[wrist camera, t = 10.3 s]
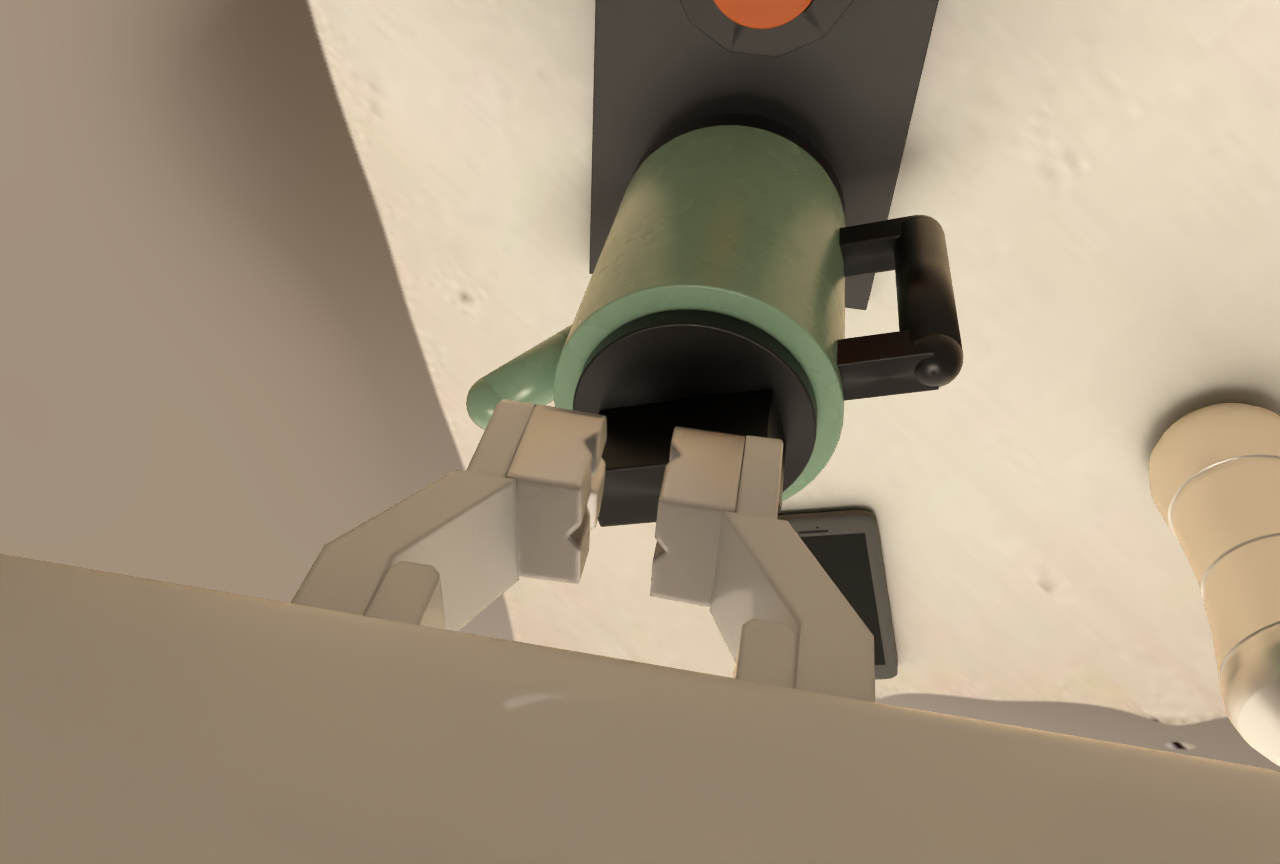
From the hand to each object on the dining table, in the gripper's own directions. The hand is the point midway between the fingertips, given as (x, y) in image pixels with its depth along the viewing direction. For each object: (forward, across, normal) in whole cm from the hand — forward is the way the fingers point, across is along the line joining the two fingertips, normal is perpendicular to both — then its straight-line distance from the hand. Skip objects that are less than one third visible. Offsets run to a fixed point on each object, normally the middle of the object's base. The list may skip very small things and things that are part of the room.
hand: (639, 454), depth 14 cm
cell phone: (+30, -8, +35) cm, 47 cm away
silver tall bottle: (+30, -24, +20) cm, 43 cm away
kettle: (+28, 0, +10) cm, 29 cm away
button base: (+30, 0, +6) cm, 31 cm away
